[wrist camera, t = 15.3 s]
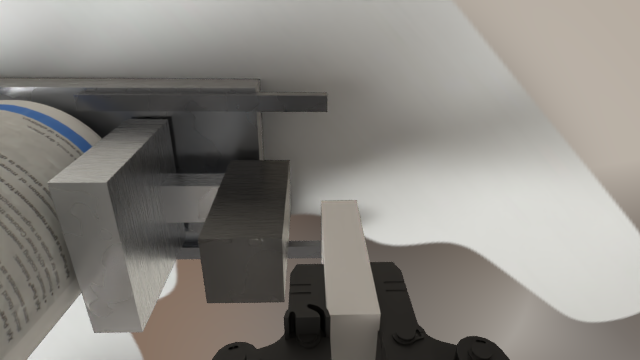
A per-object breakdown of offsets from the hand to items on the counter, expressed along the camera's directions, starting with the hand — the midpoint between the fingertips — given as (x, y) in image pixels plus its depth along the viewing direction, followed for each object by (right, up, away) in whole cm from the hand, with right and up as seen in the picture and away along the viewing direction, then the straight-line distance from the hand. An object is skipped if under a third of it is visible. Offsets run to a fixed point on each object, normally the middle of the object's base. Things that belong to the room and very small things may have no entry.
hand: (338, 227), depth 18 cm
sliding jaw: (-6, +2, +4) cm, 8 cm away
